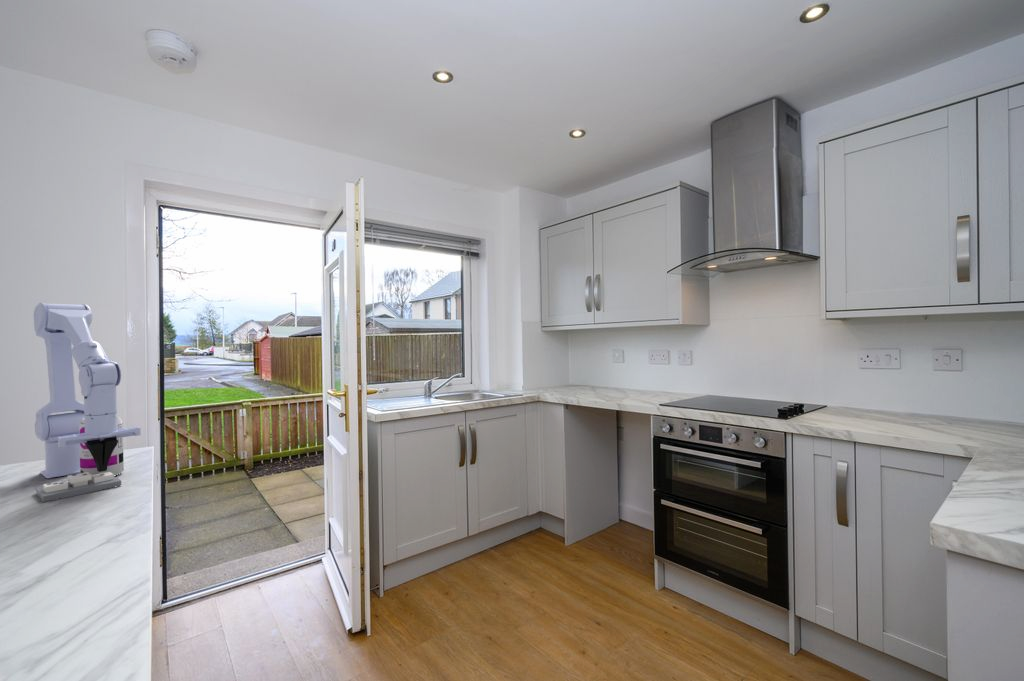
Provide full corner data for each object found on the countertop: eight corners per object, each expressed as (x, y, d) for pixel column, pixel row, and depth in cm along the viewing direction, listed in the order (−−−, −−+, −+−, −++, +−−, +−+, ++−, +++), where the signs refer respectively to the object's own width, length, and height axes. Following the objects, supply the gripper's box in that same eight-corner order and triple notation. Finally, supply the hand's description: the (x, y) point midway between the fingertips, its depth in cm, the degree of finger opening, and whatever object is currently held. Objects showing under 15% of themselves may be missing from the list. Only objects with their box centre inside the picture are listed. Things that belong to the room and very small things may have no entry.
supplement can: (103, 481, 112) (102, 420, 112) (70, 481, 113) (69, 420, 112) (132, 471, 121) (130, 414, 120) (101, 471, 121) (99, 414, 121)
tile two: (67, 485, 106) (67, 475, 106) (87, 482, 109) (87, 471, 109) (70, 488, 104) (70, 477, 104) (91, 484, 107) (91, 473, 107)
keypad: (36, 493, 104) (36, 488, 104) (110, 478, 114) (110, 474, 114) (43, 502, 98) (43, 496, 98) (121, 485, 109) (121, 480, 109)
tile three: (43, 495, 103) (42, 483, 103) (64, 490, 105) (64, 479, 105) (46, 498, 101) (45, 486, 101) (68, 493, 103) (67, 482, 103)
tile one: (90, 485, 109) (90, 474, 109) (110, 481, 112) (109, 471, 112) (94, 488, 107) (94, 477, 107) (113, 484, 110) (113, 473, 110)
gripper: (62, 420, 101) (63, 481, 101) (143, 411, 113) (145, 466, 113) (55, 416, 105) (56, 475, 105) (135, 408, 117) (136, 461, 117)
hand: (101, 470), depth 109 cm, fingers closed
